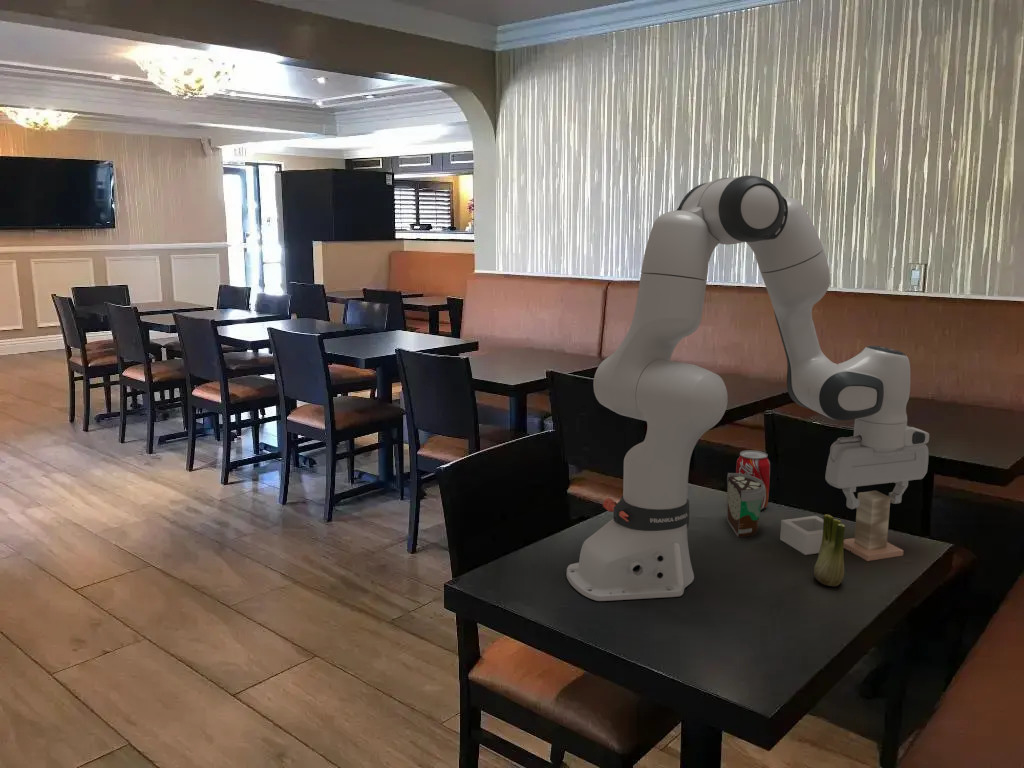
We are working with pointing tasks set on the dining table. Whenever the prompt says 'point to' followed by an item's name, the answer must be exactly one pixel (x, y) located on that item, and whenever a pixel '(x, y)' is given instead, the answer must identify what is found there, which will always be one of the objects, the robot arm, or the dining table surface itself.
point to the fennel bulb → (831, 553)
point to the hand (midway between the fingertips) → (873, 505)
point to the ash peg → (872, 520)
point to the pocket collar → (803, 533)
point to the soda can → (755, 469)
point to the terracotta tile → (872, 551)
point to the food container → (744, 503)
